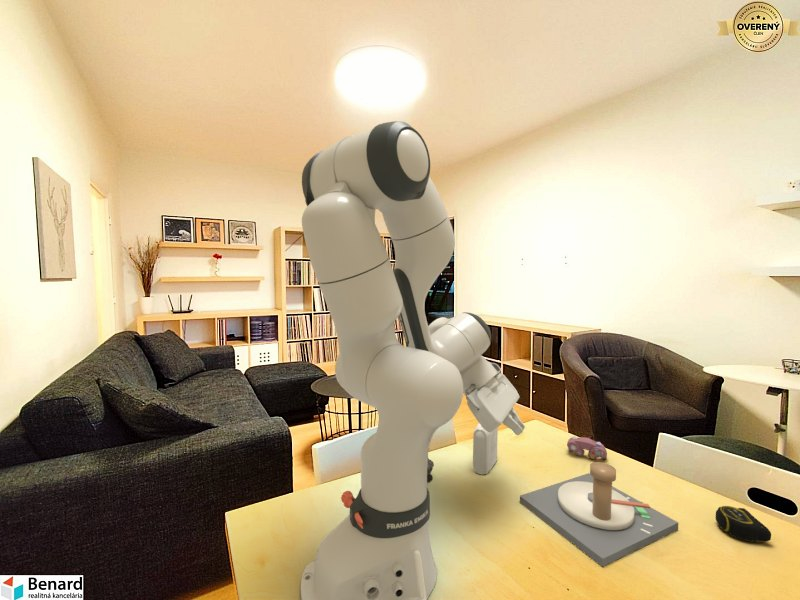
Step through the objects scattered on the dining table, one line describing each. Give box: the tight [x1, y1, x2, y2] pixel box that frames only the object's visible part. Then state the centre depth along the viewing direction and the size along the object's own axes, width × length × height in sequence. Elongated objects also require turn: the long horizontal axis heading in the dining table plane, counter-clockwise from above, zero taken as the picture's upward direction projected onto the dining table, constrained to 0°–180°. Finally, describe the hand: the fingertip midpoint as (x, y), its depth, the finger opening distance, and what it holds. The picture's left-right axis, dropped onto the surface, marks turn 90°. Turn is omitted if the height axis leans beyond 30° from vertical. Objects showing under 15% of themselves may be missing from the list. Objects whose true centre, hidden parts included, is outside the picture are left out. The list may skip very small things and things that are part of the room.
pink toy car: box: [566, 435, 608, 460], centre depth 101 cm, size 10×5×7 cm, turn 56°
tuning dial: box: [558, 461, 651, 530], centre depth 75 cm, size 17×14×11 cm
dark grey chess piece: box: [427, 457, 435, 484], centre depth 90 cm, size 6×6×12 cm
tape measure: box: [715, 505, 772, 543], centre depth 71 cm, size 7×7×4 cm
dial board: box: [519, 472, 679, 568], centre depth 76 cm, size 22×20×2 cm
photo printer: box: [472, 422, 499, 475], centre depth 96 cm, size 10×4×12 cm, turn 148°
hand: (521, 431), depth 77 cm, fingers closed
